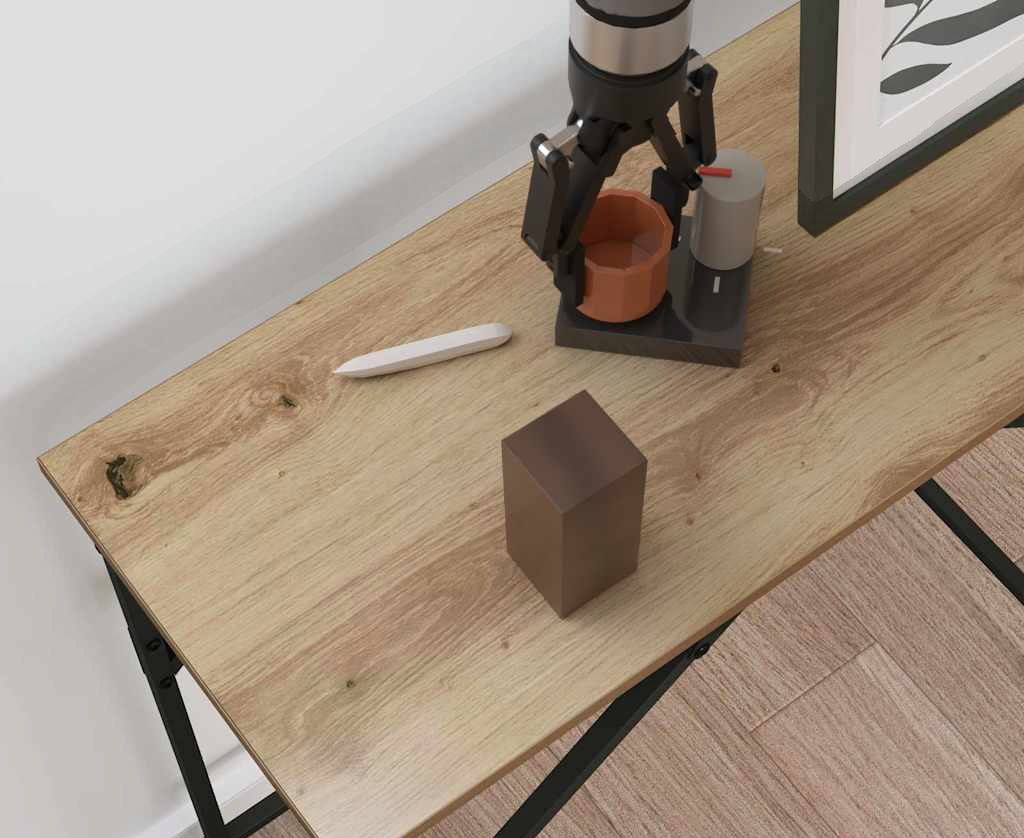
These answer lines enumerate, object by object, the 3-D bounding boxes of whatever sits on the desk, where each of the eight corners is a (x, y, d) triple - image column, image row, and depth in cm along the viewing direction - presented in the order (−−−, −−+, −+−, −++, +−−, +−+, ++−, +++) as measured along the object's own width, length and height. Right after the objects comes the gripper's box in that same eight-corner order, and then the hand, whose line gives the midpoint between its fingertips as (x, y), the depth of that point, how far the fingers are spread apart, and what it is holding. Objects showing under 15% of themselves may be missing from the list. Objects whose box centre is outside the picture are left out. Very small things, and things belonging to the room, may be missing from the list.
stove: (783, 226, 128) (787, 204, 126) (766, 372, 121) (771, 352, 119) (581, 202, 129) (582, 180, 127) (554, 345, 123) (554, 325, 120)
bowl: (672, 245, 123) (678, 195, 117) (660, 328, 119) (665, 280, 114) (571, 233, 123) (572, 183, 118) (555, 315, 120) (555, 267, 115)
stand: (581, 503, 116) (584, 388, 103) (637, 569, 113) (648, 459, 100) (506, 551, 114) (500, 440, 101) (561, 619, 112) (562, 514, 98)
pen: (331, 373, 122) (329, 361, 120) (509, 328, 124) (509, 315, 122) (336, 390, 121) (334, 378, 120) (515, 344, 123) (515, 331, 121)
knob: (757, 222, 125) (769, 149, 118) (752, 273, 123) (764, 202, 115) (692, 215, 125) (700, 142, 118) (686, 267, 123) (694, 195, 116)
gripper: (722, -69, 104) (695, 169, 124) (455, 75, 98) (471, 299, 118) (798, -1, 101) (757, 231, 121) (527, 150, 95) (531, 368, 115)
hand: (616, 265), depth 119 cm, fingers closed on bowl, 8 cm apart
